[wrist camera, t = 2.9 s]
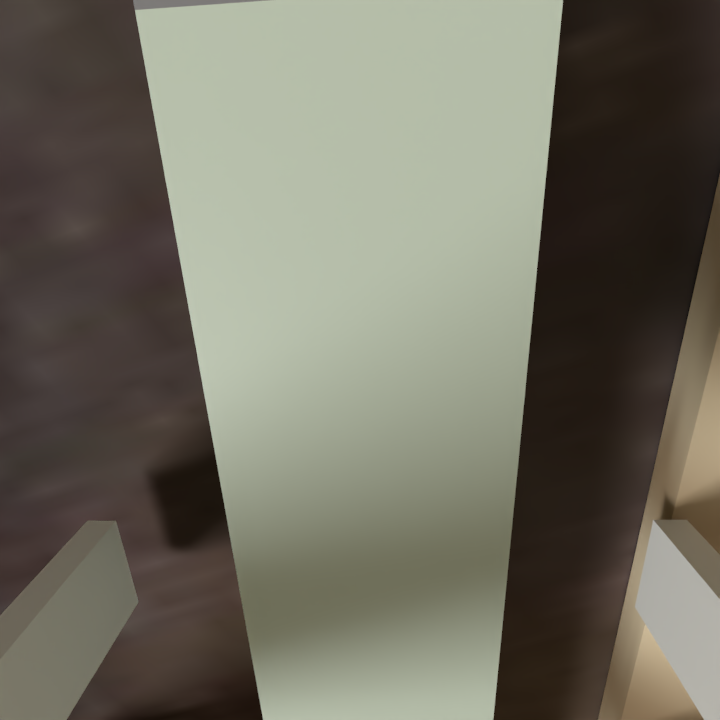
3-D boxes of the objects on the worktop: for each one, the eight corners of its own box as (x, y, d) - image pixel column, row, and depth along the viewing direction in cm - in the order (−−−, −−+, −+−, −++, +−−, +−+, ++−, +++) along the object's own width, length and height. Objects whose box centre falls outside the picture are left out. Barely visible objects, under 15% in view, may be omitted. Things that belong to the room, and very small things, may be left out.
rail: (260, 56, 9) (115, -100, 4) (469, 43, 8) (576, -140, 4) (332, 761, 16) (311, 988, 12) (442, 765, 16) (466, 999, 12)
